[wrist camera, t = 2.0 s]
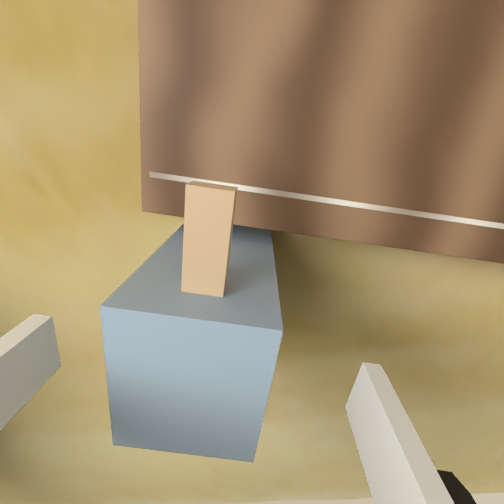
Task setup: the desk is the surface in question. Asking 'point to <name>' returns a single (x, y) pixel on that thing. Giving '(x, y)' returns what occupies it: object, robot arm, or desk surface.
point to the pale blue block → (196, 336)
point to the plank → (331, 117)
